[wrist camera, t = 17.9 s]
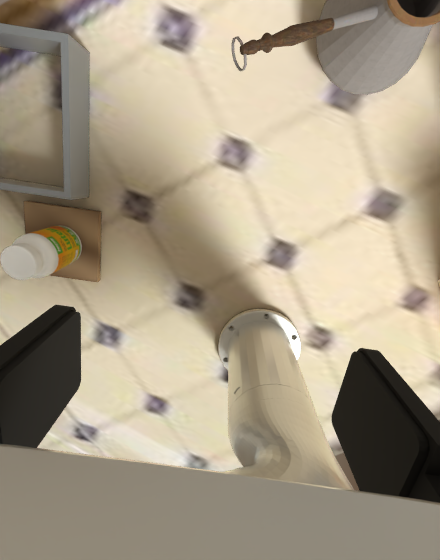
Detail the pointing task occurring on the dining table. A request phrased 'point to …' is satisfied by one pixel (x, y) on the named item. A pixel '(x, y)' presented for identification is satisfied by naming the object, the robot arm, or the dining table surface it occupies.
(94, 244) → the walnut board
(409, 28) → the coffee pot
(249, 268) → the dining table surface
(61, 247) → the supplement bottle
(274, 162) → the dining table surface
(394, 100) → the dining table surface
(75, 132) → the bin
